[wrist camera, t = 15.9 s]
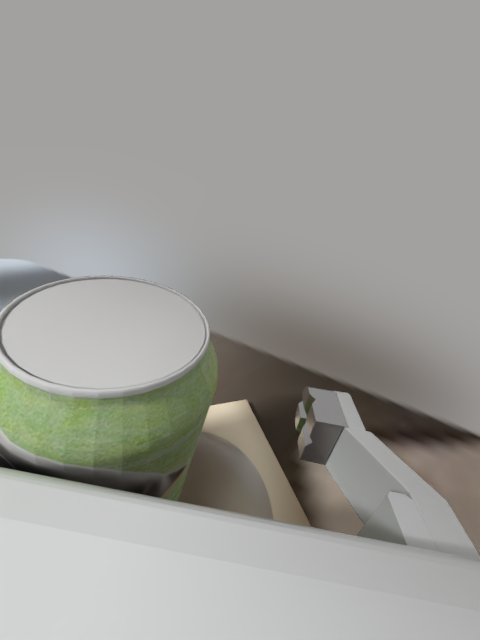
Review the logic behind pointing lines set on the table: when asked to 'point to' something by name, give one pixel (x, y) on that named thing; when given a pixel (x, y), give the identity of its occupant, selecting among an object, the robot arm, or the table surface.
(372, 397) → the table surface
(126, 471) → the beverage can
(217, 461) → the birch mat
